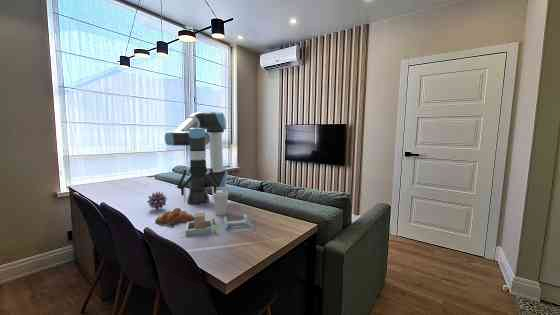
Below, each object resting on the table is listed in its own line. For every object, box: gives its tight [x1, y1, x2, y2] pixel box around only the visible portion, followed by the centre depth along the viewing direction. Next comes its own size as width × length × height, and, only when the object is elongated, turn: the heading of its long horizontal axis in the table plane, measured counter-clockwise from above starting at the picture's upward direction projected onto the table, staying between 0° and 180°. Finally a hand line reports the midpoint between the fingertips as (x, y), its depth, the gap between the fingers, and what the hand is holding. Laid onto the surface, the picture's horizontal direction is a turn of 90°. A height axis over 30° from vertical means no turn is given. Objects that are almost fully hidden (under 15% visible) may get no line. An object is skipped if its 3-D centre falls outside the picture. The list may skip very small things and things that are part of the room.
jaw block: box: [193, 211, 206, 229], centre depth 123 cm, size 6×5×8 cm
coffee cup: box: [213, 189, 229, 216], centre depth 147 cm, size 10×10×15 cm
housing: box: [179, 216, 255, 239], centre depth 126 cm, size 16×36×4 cm, turn 107°
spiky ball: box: [146, 191, 168, 210], centre depth 156 cm, size 12×12×12 cm
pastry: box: [154, 207, 194, 226], centre depth 136 cm, size 17×15×8 cm
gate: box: [223, 213, 248, 230], centre depth 128 cm, size 8×12×5 cm
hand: (199, 200), depth 122 cm, fingers open, 13 cm apart
